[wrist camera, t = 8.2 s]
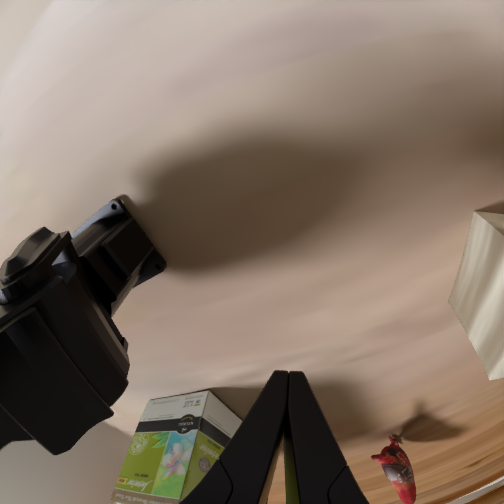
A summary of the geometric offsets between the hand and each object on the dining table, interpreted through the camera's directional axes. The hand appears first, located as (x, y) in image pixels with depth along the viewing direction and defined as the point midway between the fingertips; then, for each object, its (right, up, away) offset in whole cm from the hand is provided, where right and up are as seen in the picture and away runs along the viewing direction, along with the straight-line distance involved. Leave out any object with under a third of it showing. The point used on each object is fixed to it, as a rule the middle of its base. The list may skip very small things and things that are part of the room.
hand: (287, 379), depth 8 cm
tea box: (-6, -18, +26) cm, 32 cm away
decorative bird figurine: (+17, -20, +24) cm, 36 cm away
